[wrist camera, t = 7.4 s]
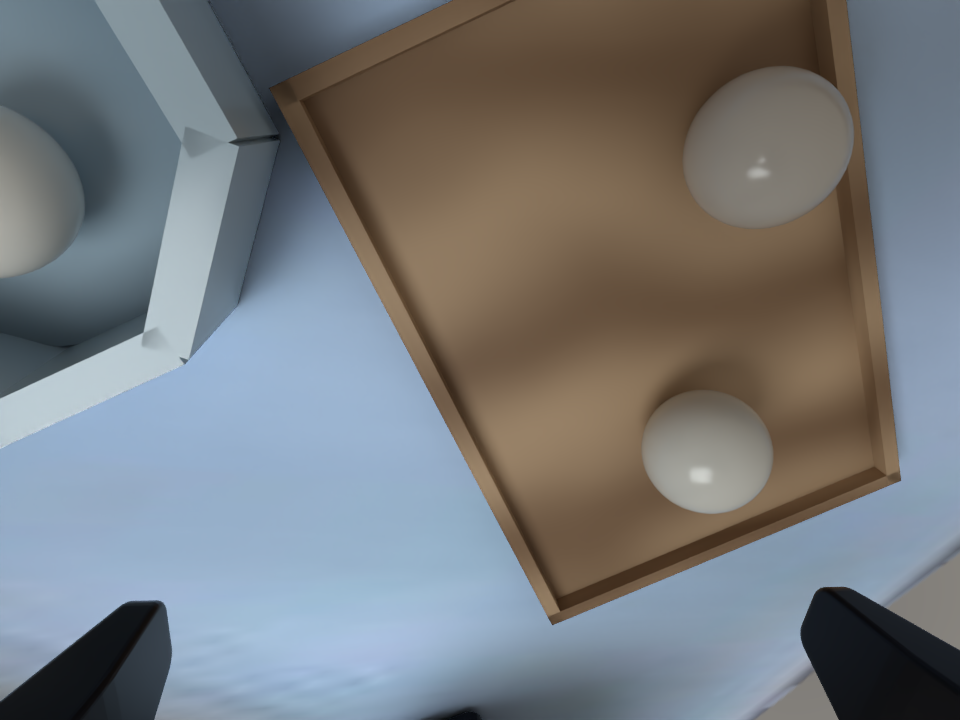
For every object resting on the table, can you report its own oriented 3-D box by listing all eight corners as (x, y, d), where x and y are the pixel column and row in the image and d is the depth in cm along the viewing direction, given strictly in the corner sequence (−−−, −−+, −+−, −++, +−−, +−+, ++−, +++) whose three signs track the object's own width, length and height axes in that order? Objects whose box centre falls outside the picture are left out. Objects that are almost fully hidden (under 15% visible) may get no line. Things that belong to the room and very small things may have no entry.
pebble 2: (740, 441, 20) (811, 509, 16) (641, 483, 20) (690, 559, 17) (717, 352, 18) (790, 405, 15) (609, 398, 19) (657, 462, 15)
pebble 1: (797, 184, 16) (902, 201, 13) (676, 237, 17) (749, 268, 13) (775, 47, 15) (887, 25, 11) (642, 108, 15) (713, 105, 12)
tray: (880, 465, 22) (901, 480, 21) (546, 604, 22) (552, 625, 21) (797, -158, 14) (826, -179, 13) (277, 89, 14) (269, 88, 13)
